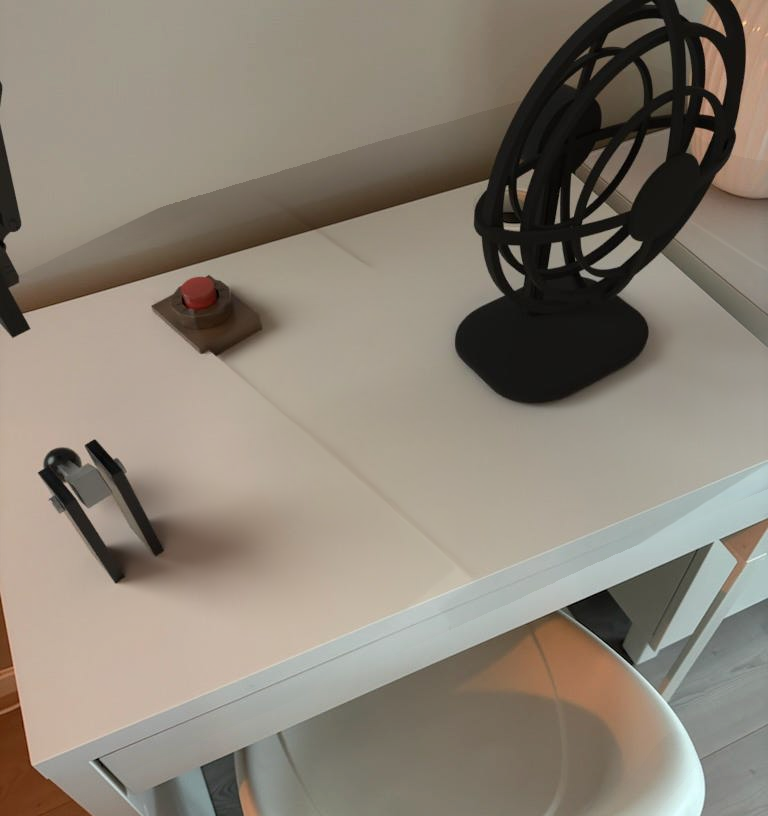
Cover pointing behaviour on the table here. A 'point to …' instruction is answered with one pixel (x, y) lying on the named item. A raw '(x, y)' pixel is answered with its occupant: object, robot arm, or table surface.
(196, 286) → the button
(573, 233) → the desk fan
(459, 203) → the table surface
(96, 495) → the lever
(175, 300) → the button block
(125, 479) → the bracket
